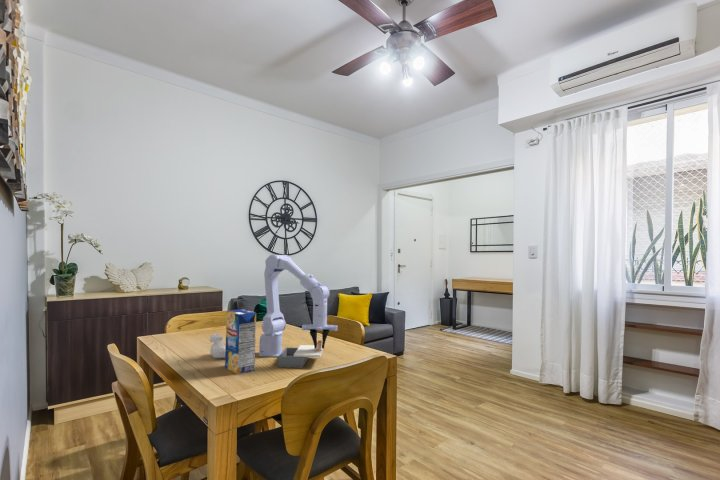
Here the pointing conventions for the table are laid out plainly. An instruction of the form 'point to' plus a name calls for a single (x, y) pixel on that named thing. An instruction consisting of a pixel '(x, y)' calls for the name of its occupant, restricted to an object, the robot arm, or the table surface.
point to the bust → (217, 346)
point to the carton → (290, 358)
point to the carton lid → (309, 350)
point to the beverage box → (240, 341)
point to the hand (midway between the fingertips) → (319, 347)
